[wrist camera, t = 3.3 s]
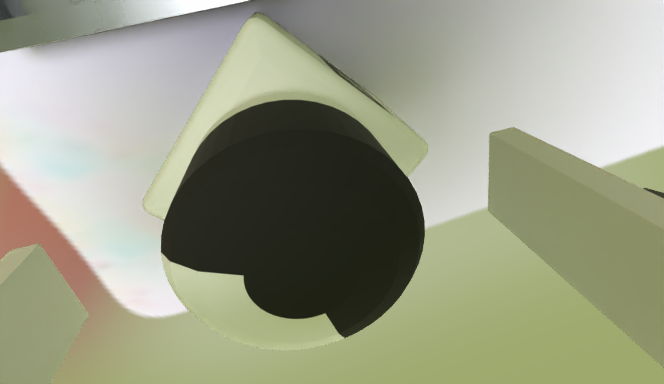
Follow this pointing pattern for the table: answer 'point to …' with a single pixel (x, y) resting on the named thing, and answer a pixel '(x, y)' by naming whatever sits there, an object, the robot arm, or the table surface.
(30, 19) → the rack tray
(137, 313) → the table surface
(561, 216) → the robot arm
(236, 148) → the container
